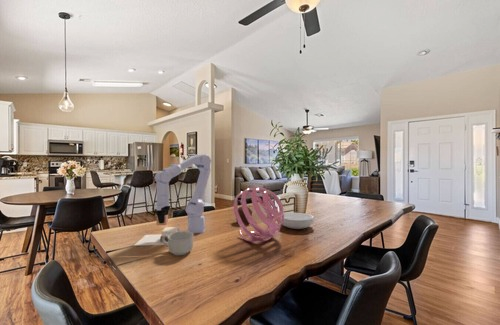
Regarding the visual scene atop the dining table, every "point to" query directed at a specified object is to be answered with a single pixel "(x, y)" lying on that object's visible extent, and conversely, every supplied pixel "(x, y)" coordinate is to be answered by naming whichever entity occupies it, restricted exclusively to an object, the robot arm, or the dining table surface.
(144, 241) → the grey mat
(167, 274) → the dining table surface
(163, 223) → the terracotta block
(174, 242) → the teacup
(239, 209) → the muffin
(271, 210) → the pink lattice sphere
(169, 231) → the cream block
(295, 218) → the serving bowl
